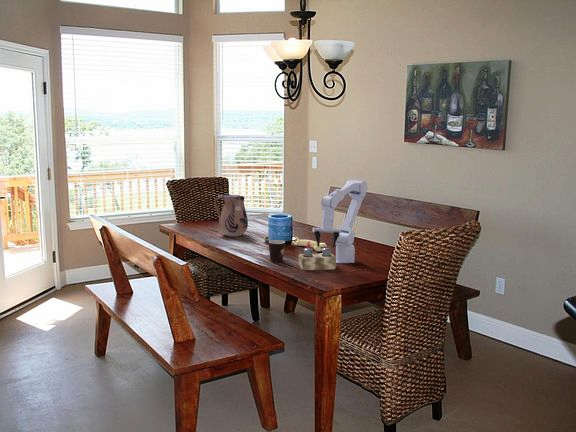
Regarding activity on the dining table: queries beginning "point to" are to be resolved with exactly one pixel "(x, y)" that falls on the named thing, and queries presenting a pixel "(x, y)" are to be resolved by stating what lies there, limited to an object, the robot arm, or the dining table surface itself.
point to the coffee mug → (276, 250)
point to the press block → (317, 262)
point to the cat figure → (309, 243)
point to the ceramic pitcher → (232, 215)
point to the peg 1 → (308, 252)
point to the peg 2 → (326, 252)
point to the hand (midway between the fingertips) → (325, 246)
